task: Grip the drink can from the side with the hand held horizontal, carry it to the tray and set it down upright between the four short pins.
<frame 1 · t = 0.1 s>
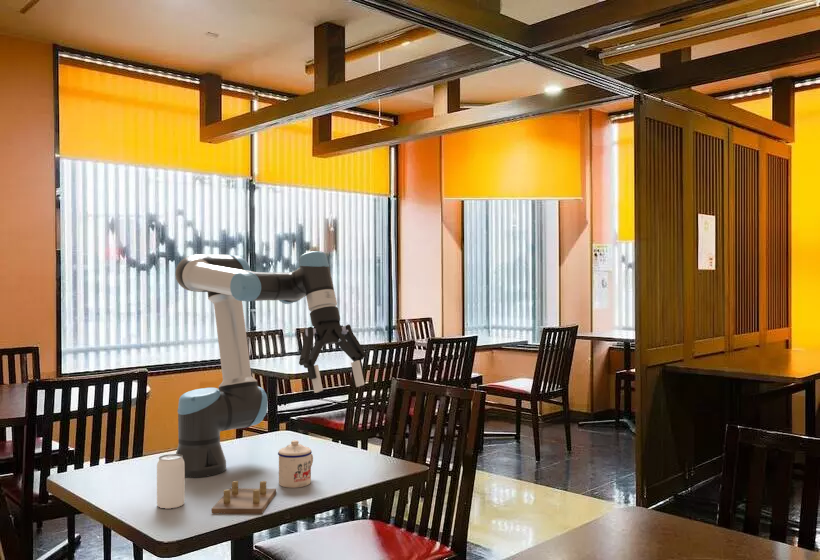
hand: (340, 388, 178), 28 cm above the table, tool tilted 20°, fingers open, 13 cm apart
pin tray: (245, 502, 174), on the table
can: (170, 506, 172), on the table
teacup with lid: (298, 482, 191), on the table
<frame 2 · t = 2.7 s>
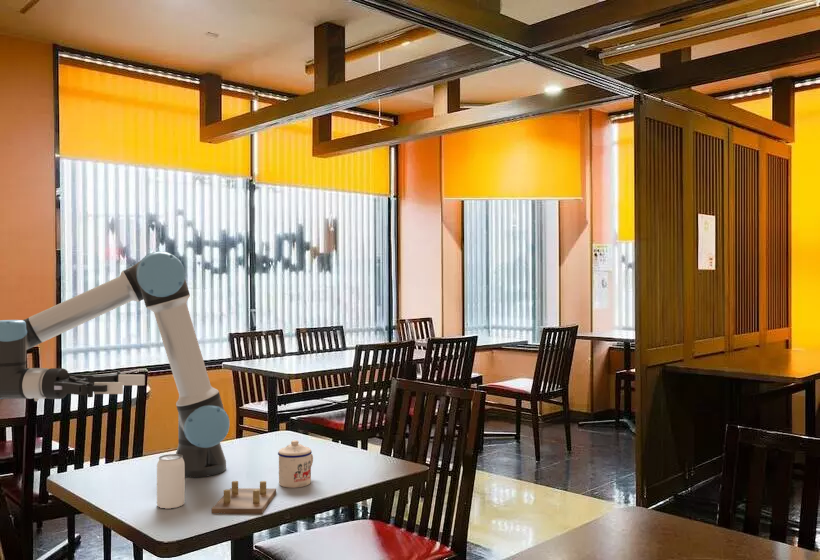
hand: (133, 383, 172), 30 cm above the table, tool horizontal, fingers open, 13 cm apart
nothing on the table moved.
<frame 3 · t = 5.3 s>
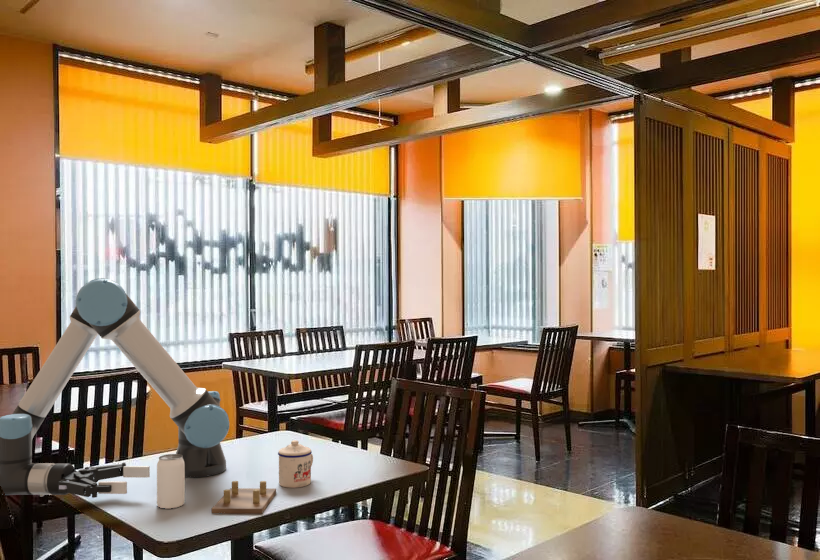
hand: (138, 479, 172), 6 cm above the table, tool horizontal, fingers open, 13 cm apart
nothing on the table moved.
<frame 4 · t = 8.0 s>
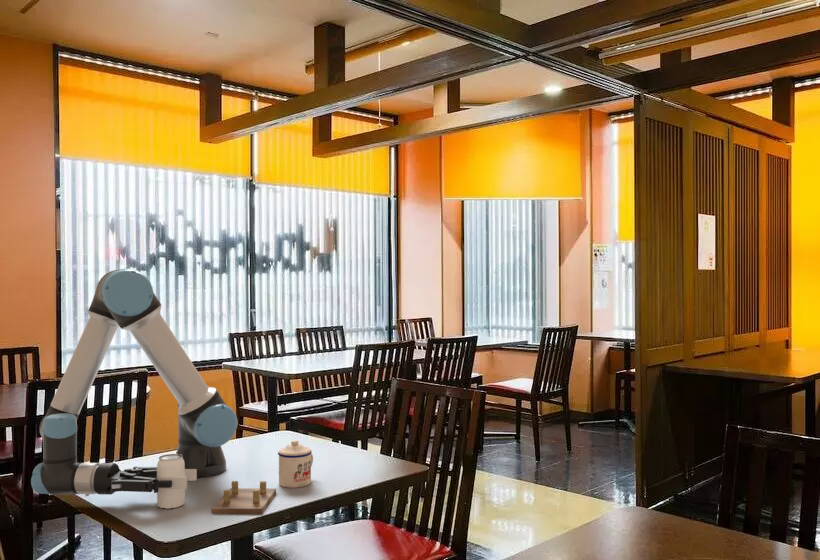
hand: (191, 478, 172), 7 cm above the table, tool horizontal, fingers closed on can, 6 cm apart
can: (171, 506, 172), on the table, touching gripper
everything else where it was.
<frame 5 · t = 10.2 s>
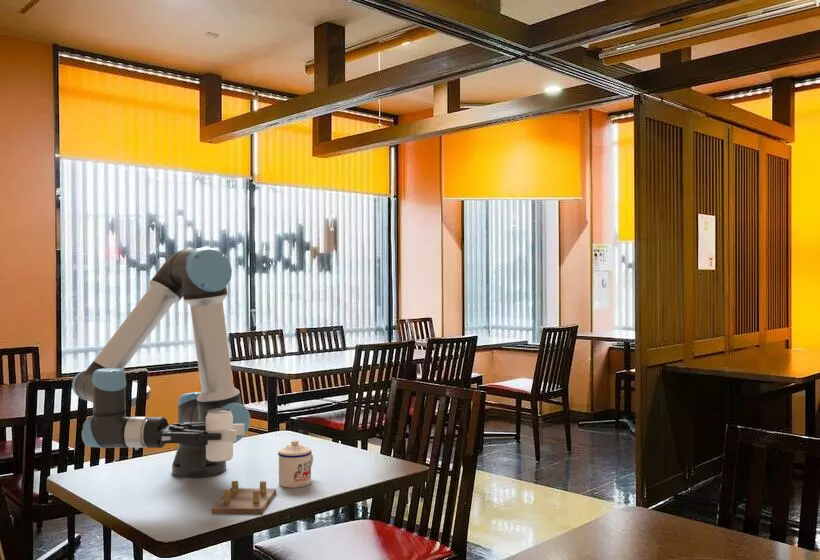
hand: (239, 432, 171), 18 cm above the table, tool horizontal, fingers closed on can, 6 cm apart
can: (219, 459, 172), point 11 cm above the table, touching gripper
everything else where it was.
when the fingers open (9 cm above the table, at t = 12.6 s): can drops 1 cm, resting on pin tray.
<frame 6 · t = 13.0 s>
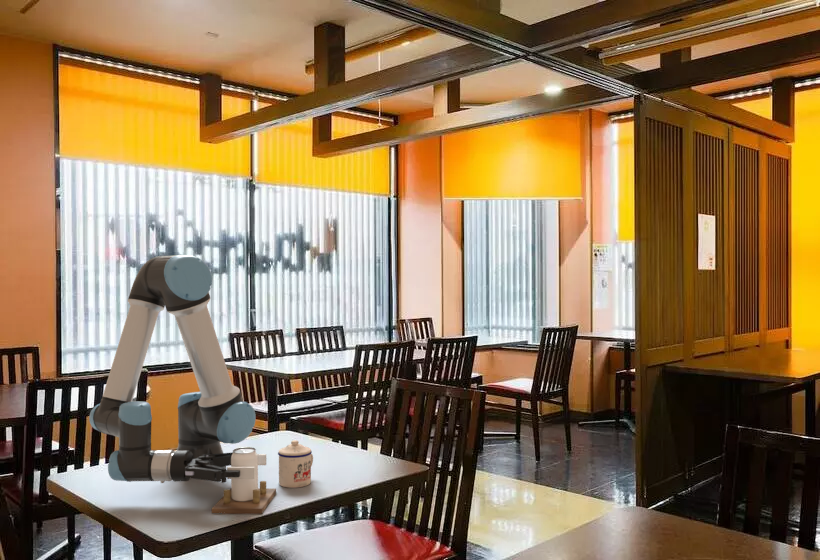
hand: (260, 466, 174), 9 cm above the table, tool horizontal, fingers open, 11 cm apart
can: (244, 498, 174), point 1 cm above the table, touching pin tray
everything else where it was.
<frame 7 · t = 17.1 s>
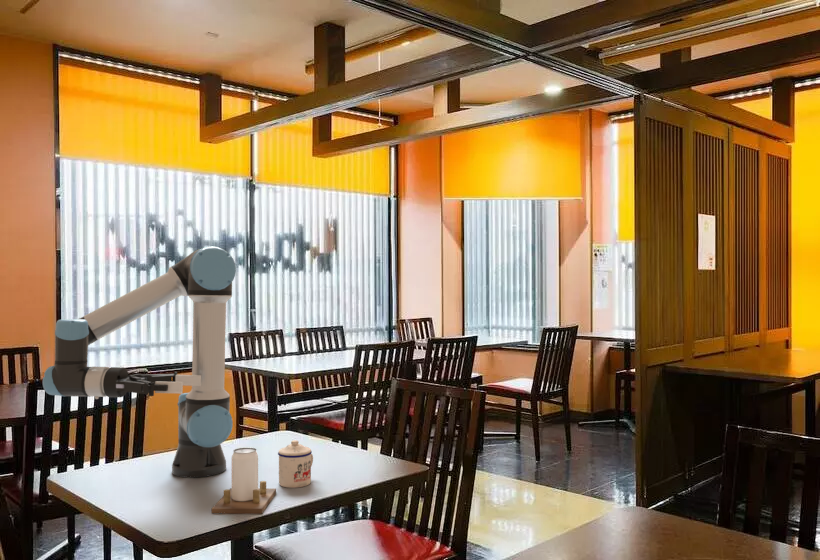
hand: (191, 384, 175), 29 cm above the table, tool horizontal, fingers open, 13 cm apart
nothing on the table moved.
at the end: can 0.1 cm off-centre on the pin tray, point 1.0 cm above the pin tray's base; can tilted 0°; the gripper is holding nothing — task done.
